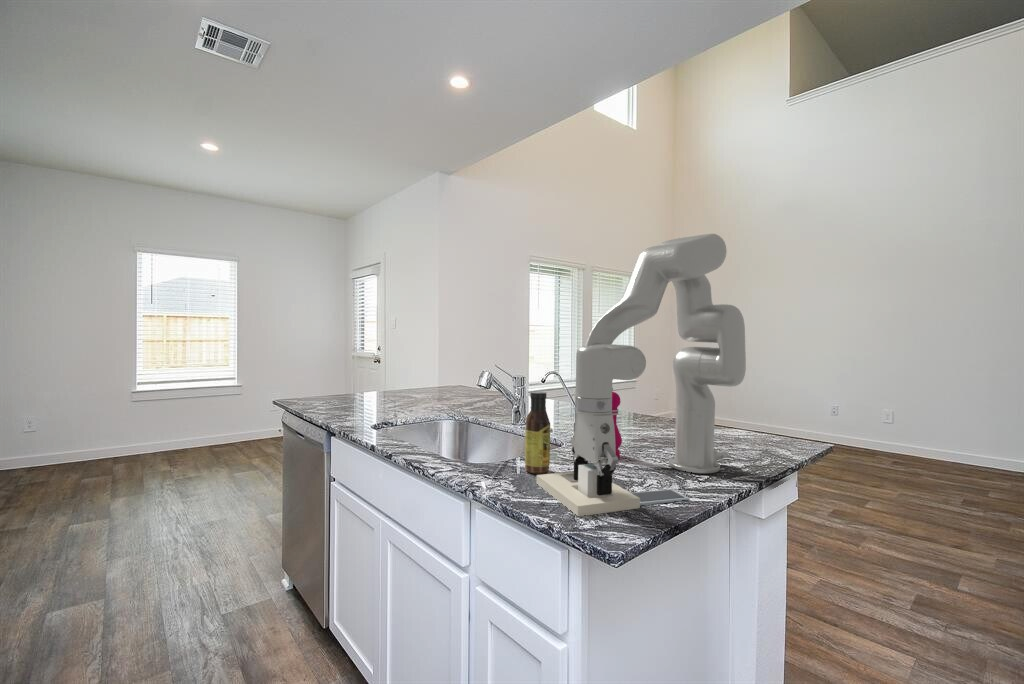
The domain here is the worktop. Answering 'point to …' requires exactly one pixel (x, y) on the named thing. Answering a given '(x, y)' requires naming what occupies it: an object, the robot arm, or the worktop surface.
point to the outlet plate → (581, 505)
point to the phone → (659, 496)
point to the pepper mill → (615, 404)
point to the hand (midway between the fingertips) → (591, 486)
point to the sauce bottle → (537, 436)
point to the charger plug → (588, 480)
